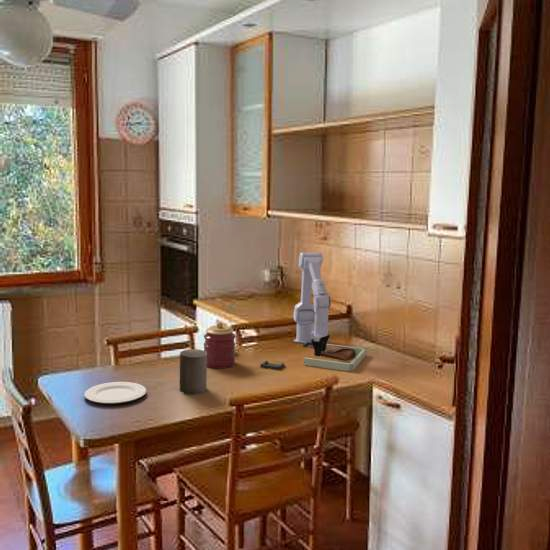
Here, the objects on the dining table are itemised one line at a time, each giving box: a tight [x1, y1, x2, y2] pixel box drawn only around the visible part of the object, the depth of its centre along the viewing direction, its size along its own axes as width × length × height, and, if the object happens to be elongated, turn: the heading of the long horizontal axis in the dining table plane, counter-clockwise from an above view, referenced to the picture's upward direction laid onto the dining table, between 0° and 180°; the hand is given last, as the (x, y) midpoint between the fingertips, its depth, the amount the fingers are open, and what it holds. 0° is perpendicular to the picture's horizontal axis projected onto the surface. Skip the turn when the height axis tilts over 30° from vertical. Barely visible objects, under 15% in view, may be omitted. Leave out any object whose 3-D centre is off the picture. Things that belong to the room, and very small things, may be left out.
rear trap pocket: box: [302, 342, 314, 349], centre depth 277 cm, size 5×8×1 cm, turn 69°
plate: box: [83, 381, 147, 405], centre depth 210 cm, size 21×21×2 cm
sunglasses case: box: [312, 345, 357, 362], centre depth 265 cm, size 18×7×7 cm
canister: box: [203, 321, 237, 369], centre depth 247 cm, size 13×13×18 cm
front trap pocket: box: [260, 360, 285, 371], centre depth 247 cm, size 6×8×1 cm
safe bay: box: [303, 343, 367, 373], centre depth 258 cm, size 25×20×3 cm
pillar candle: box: [178, 348, 208, 395], centre depth 217 cm, size 10×10×15 cm
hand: (320, 353), depth 260 cm, fingers open, 7 cm apart
